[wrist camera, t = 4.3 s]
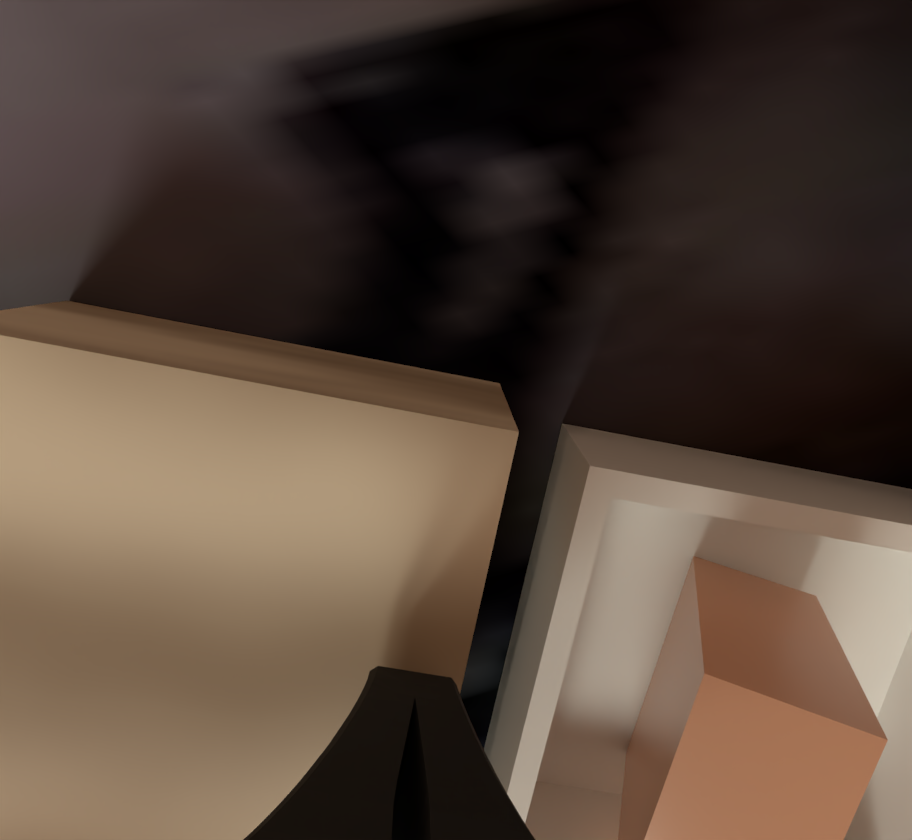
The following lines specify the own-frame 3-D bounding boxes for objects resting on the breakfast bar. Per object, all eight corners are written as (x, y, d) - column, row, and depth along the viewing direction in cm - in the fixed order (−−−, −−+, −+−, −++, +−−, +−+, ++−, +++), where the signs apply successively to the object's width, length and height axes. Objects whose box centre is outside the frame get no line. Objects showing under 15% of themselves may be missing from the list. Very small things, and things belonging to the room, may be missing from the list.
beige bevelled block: (414, 778, 17) (405, 933, 13) (40, 720, 17) (-83, 864, 13) (499, 383, 15) (519, 432, 11) (67, 300, 14) (-74, 321, 10)
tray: (829, 821, 18) (905, 934, 15) (479, 766, 17) (487, 873, 14) (955, 496, 16) (1072, 554, 13) (561, 422, 15) (589, 465, 12)
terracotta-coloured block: (626, 751, 16) (737, 796, 16) (608, 937, 11) (767, 1011, 11) (693, 556, 15) (815, 595, 14) (703, 673, 10) (887, 739, 10)
